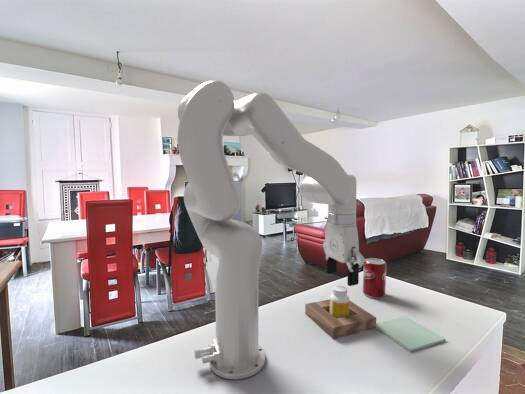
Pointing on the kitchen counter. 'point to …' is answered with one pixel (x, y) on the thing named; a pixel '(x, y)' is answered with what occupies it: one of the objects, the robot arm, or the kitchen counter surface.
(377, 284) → the soda can
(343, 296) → the supplement bottle
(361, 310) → the block
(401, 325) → the place mat
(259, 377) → the kitchen counter surface
